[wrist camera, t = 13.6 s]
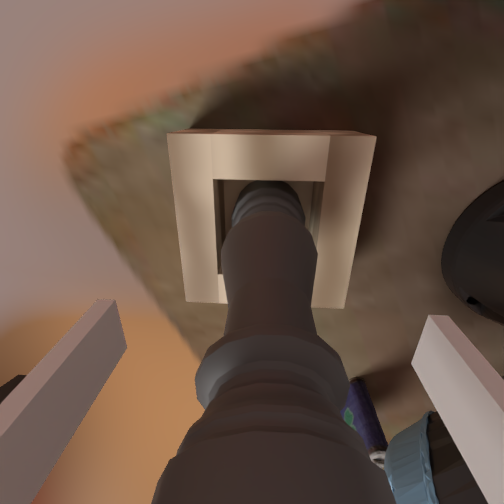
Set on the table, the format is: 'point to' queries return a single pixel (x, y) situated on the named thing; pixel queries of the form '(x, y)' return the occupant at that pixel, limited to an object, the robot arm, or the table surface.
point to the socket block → (269, 168)
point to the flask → (365, 420)
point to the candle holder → (271, 380)
